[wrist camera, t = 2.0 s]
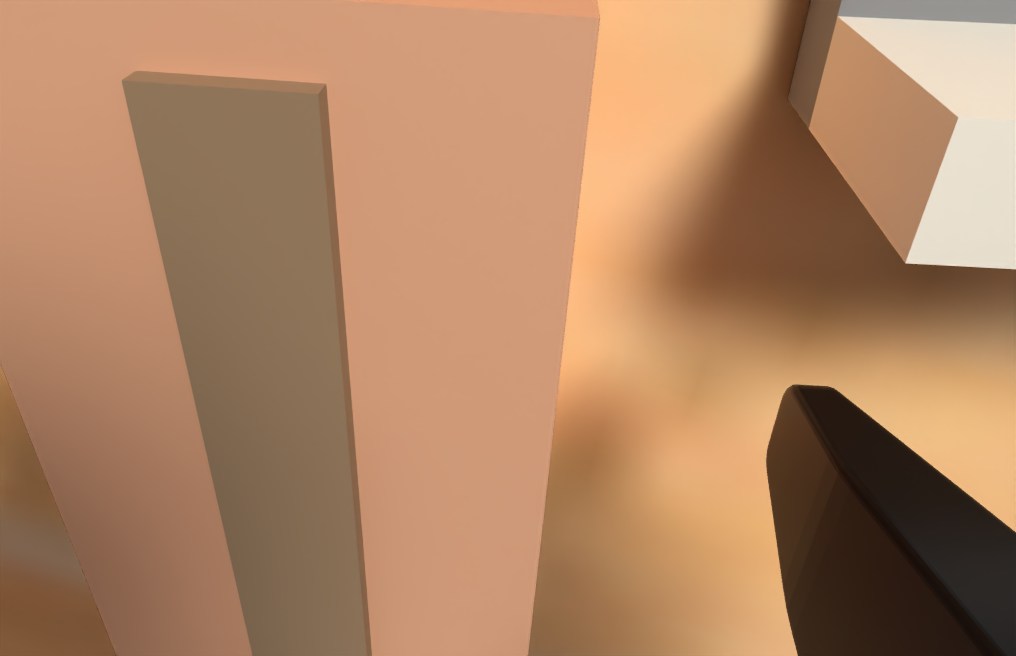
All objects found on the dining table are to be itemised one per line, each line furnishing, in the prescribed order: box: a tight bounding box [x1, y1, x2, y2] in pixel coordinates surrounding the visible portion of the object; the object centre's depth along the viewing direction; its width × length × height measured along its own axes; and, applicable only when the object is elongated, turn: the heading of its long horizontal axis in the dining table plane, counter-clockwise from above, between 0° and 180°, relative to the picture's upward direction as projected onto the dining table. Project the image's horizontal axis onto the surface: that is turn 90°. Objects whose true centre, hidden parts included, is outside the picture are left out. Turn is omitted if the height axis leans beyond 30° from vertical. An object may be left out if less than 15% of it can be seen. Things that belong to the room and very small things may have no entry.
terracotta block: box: [0, 0, 600, 656], centre depth 9 cm, size 8×4×5 cm, turn 177°
